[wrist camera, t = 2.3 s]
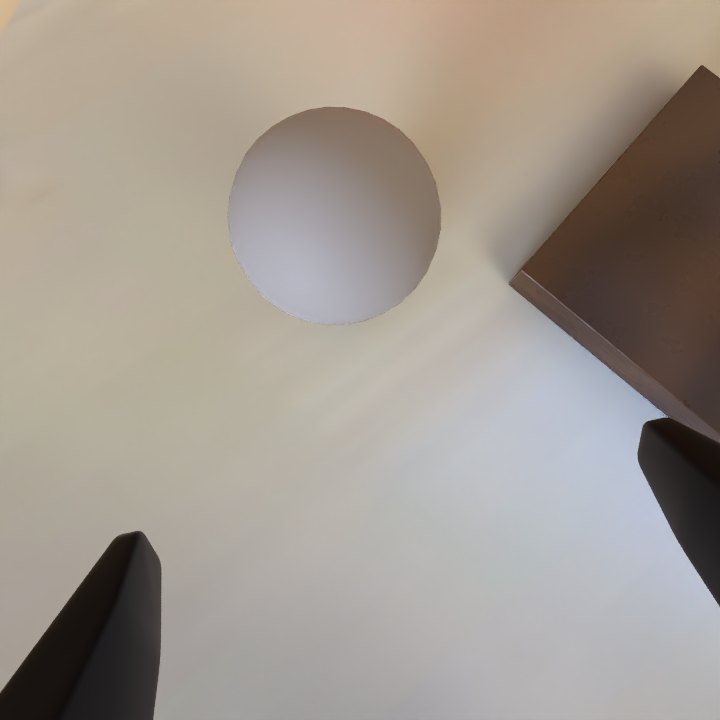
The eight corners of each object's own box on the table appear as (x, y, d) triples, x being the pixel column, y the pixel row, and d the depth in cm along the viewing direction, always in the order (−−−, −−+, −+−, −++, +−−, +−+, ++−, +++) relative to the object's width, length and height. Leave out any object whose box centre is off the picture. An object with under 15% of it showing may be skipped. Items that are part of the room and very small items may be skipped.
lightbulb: (356, 199, 25) (352, 9, 14) (443, 305, 24) (509, 191, 14) (244, 282, 25) (151, 150, 14) (330, 393, 24) (304, 346, 13)
